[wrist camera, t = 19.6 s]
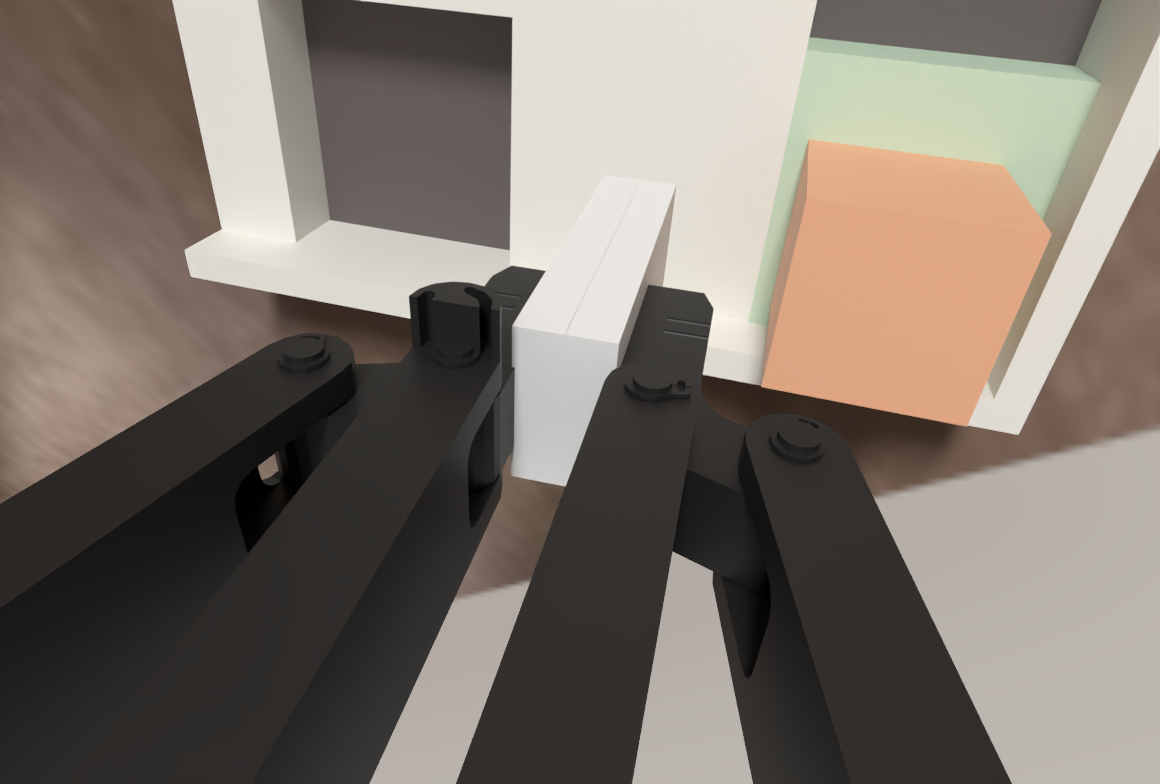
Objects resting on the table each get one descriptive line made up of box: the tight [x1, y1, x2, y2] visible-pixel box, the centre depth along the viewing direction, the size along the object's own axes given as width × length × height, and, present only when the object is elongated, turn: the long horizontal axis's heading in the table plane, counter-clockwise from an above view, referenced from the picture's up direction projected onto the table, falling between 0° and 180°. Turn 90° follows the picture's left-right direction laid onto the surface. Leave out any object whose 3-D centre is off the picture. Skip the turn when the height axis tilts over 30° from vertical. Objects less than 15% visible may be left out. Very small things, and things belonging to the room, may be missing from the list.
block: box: [761, 139, 1052, 427], centre depth 19 cm, size 5×5×5 cm
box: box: [172, 0, 1160, 435], centre depth 21 cm, size 27×18×4 cm, turn 87°
